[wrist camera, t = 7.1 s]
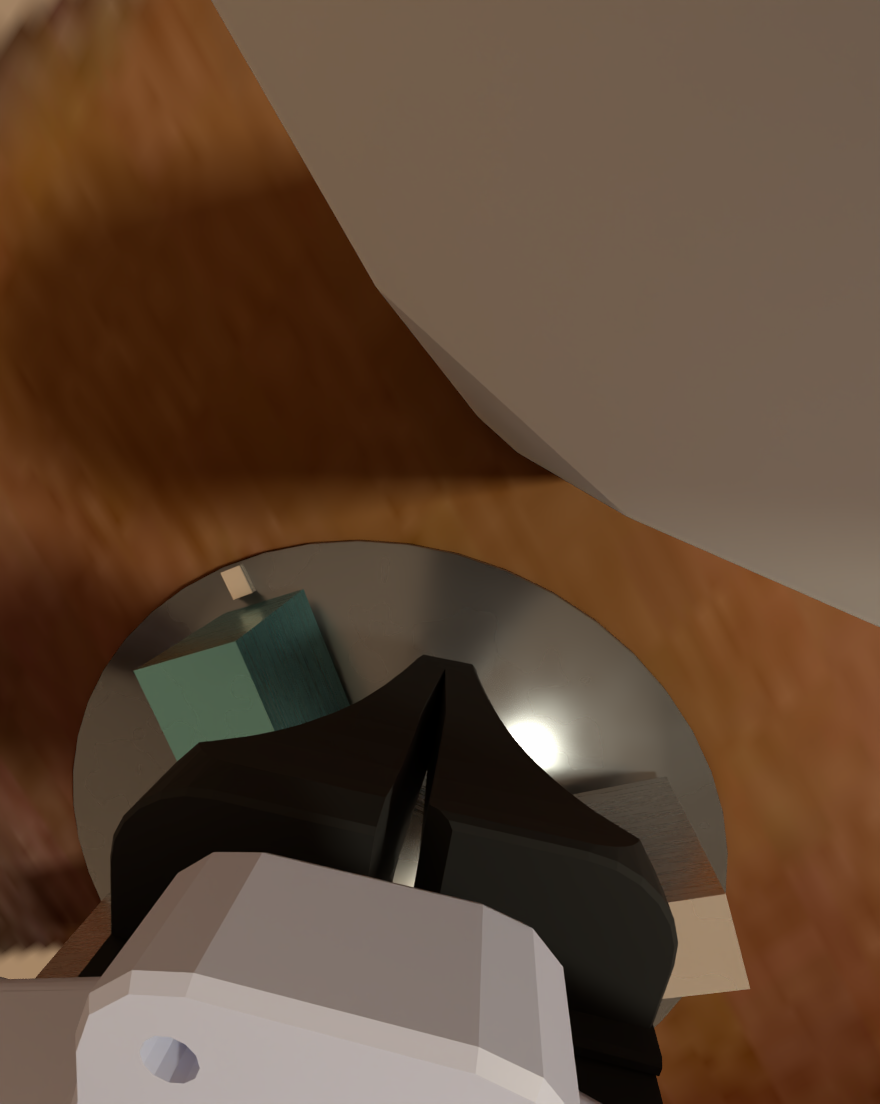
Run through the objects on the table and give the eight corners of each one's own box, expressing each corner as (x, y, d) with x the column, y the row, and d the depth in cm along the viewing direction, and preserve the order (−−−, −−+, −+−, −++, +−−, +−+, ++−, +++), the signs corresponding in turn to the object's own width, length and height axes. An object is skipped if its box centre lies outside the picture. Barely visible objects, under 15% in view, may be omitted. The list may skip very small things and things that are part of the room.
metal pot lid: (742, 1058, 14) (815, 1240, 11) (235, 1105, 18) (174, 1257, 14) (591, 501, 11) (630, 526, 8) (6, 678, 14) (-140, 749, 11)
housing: (642, 1152, 16) (714, 1506, 11) (96, 1024, 18) (-75, 1274, 13) (815, 598, 12) (1095, 735, 6) (54, 495, 13) (-250, 533, 8)
